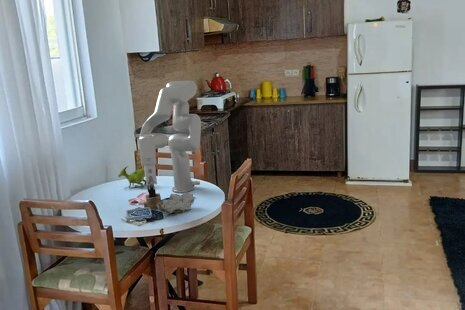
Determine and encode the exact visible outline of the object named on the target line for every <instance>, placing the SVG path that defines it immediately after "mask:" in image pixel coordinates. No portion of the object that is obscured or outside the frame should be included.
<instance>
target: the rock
mask: <svg viewBox="0 0 465 310" xmlns="http://www.w3.org/2000/svg"><path fill="white" fill-rule="evenodd" d="M194 201H195V197H194V195H193V193H191V192H182V194H178V193H175V194H174V193H171V194H170V195H169V198H168V200H167V199H165V198H164V199H162V200H161V202H158V203H157V204H156V206H157V207H158V209H157V210H159V211H160V212H161V214H168V215H171V214H174V213H175V214H177V213H180V214H183V213H185V212H186V211H187V212H188V211H189V210H190V209H192V204H193V203H194Z"/></svg>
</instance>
